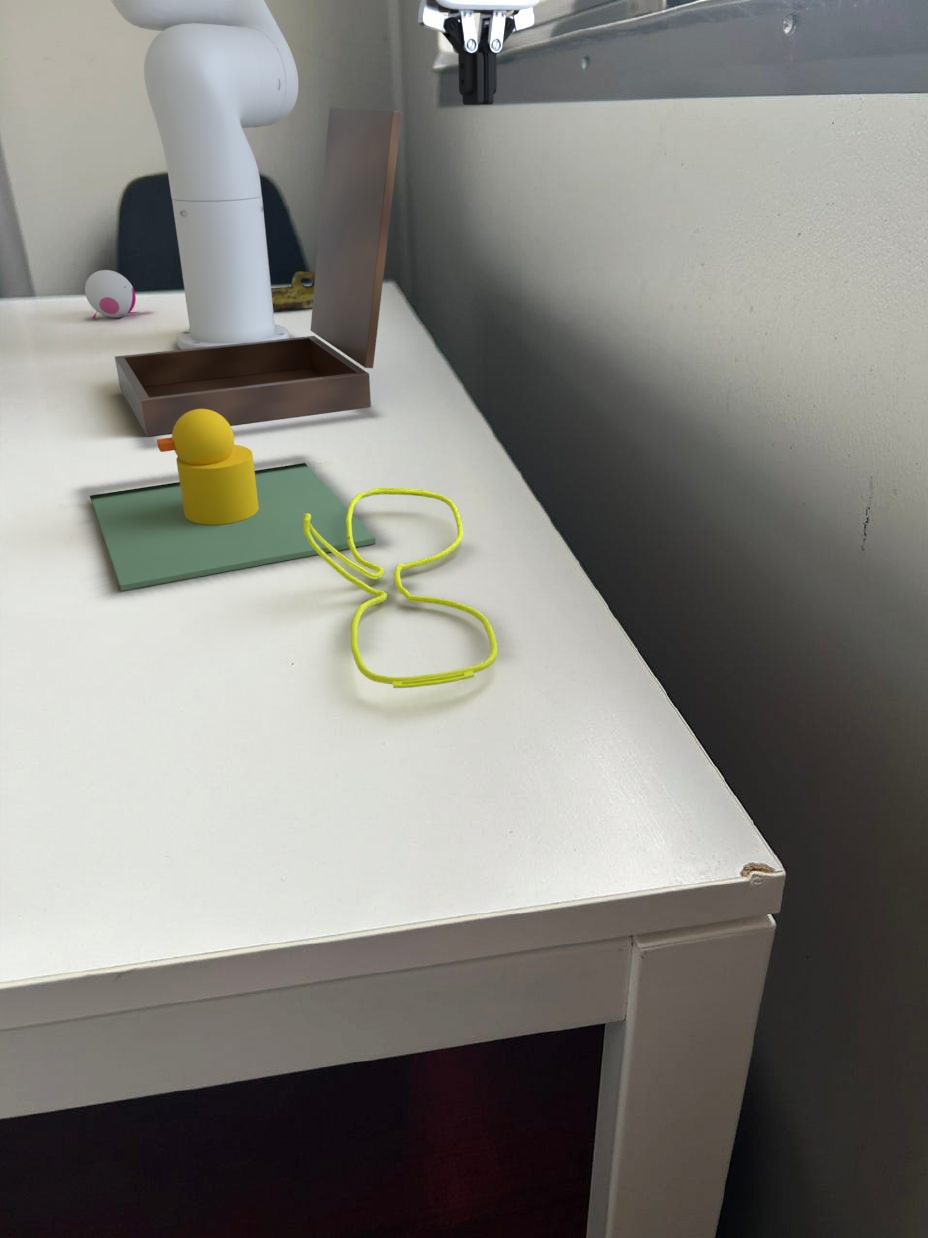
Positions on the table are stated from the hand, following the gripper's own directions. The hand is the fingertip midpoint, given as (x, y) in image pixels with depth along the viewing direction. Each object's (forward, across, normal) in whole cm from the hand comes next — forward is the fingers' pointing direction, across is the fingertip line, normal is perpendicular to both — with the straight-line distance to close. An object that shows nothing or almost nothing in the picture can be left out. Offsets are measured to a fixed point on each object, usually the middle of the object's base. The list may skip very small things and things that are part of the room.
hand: (477, 103), depth 89 cm
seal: (+24, -9, +46) cm, 52 cm away
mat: (+25, -32, -26) cm, 48 cm away
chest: (+24, -24, 0) cm, 35 cm away
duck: (+24, -32, -26) cm, 48 cm away
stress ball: (+24, -29, +48) cm, 61 cm away
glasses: (+25, -25, -41) cm, 54 cm away
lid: (+10, -13, 0) cm, 17 cm away
